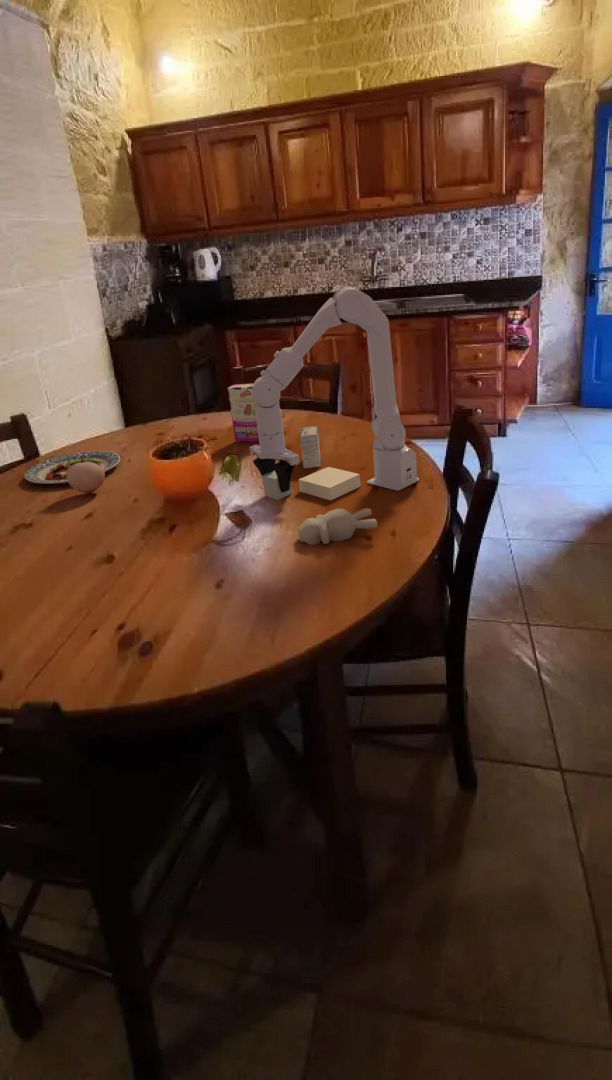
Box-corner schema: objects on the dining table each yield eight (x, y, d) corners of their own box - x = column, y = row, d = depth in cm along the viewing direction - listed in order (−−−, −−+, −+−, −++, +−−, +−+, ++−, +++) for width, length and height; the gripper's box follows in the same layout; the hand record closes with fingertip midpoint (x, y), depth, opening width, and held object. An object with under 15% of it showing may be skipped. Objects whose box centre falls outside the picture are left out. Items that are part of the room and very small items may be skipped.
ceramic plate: (127, 476, 176) (125, 466, 175) (26, 497, 169) (23, 486, 167) (115, 452, 198) (113, 442, 197) (26, 470, 191) (23, 460, 189)
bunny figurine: (294, 514, 132) (366, 496, 132) (299, 536, 134) (371, 519, 134) (298, 533, 123) (376, 514, 123) (304, 557, 125) (381, 538, 125)
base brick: (360, 486, 153) (359, 474, 151) (330, 500, 147) (329, 487, 145) (329, 478, 159) (328, 466, 158) (299, 491, 153) (298, 479, 152)
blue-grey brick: (292, 493, 153) (289, 473, 151) (277, 499, 150) (275, 479, 148) (279, 489, 156) (276, 469, 154) (264, 495, 153) (262, 475, 151)
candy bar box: (275, 437, 195) (269, 382, 188) (270, 442, 191) (263, 386, 184) (241, 437, 199) (233, 383, 192) (234, 442, 194) (226, 387, 187)
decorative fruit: (73, 503, 161) (62, 464, 156) (70, 493, 168) (60, 455, 163) (111, 495, 164) (102, 456, 159) (107, 485, 171) (99, 448, 166)
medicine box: (320, 467, 167) (317, 434, 164) (303, 469, 168) (299, 436, 164) (320, 457, 175) (317, 425, 171) (303, 459, 175) (300, 427, 171)
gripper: (236, 432, 149) (244, 488, 155) (279, 441, 139) (286, 500, 145) (260, 424, 153) (267, 479, 159) (303, 432, 144) (309, 490, 149)
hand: (277, 488), depth 152 cm, fingers closed on blue-grey brick, 4 cm apart
